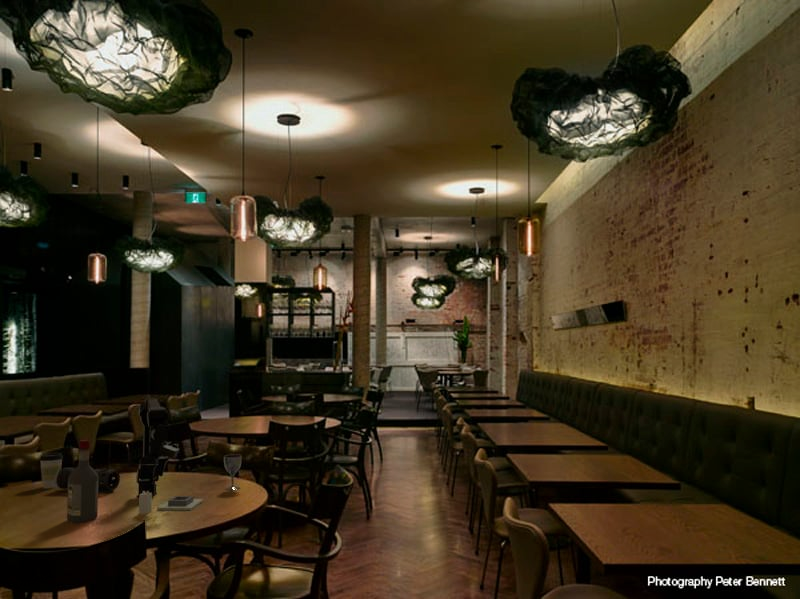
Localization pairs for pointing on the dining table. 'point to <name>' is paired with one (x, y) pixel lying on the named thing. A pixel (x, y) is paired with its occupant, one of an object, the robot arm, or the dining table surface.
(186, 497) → the end holder
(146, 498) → the connector plug
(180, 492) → the dining table surface
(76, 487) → the liquor
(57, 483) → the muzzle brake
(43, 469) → the coffee cup
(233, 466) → the wine glass
